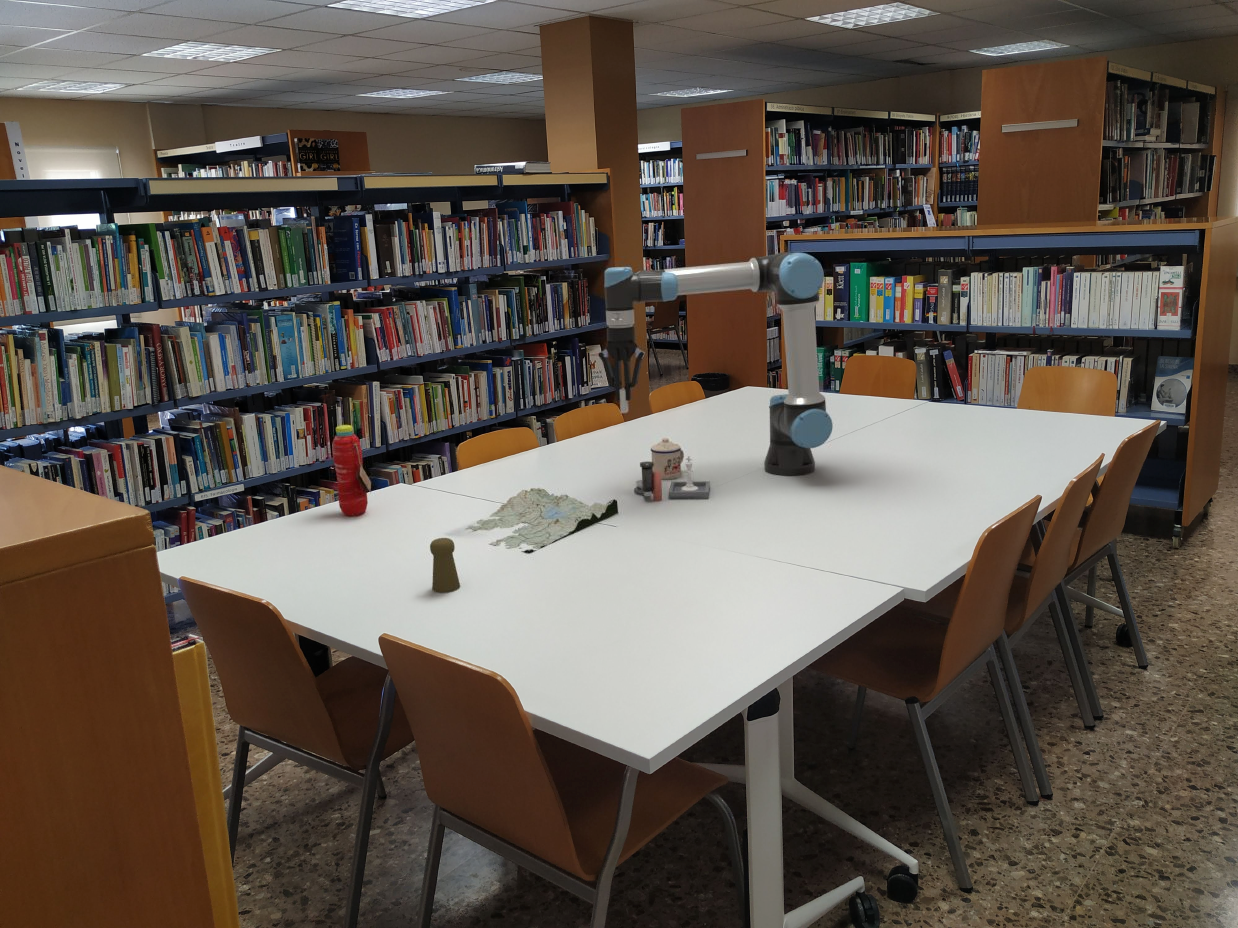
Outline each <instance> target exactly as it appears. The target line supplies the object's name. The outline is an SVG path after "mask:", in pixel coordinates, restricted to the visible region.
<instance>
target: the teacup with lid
mask: <svg viewBox="0 0 1238 928" xmlns="http://www.w3.org/2000/svg"><path fill="white" fill-rule="evenodd" d="M650 452H651V462H654V466H653V471H661V480H665V481H666V480H667V481H668V480H674V479H677V478H680V477H681V476H682V475H681V474H682V466H681V464H682V463H683V461H684V457H685V454H684V450H682V448H681V446H680V445H679V444H677V443H674V442H672V441H671V440H669V438H667V437H664V438H662V439H661V441H659V442H658V443H657V444H653V445H651V447H650Z"/></svg>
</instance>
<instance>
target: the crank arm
mask: <svg viewBox="0 0 1238 928" xmlns="http://www.w3.org/2000/svg"><path fill="white" fill-rule="evenodd" d="M653 466H654V462H652V461H647V460H646V461H641V462H639V467H640V468H641V479H640V480H636V486H635V487H637V489H642V491H643V494H644V495H643V496H644V497H653V494H652V491H653Z"/></svg>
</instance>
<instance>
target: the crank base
mask: <svg viewBox="0 0 1238 928" xmlns="http://www.w3.org/2000/svg"><path fill="white" fill-rule="evenodd" d="M633 493H634V494H635V495H639V496H644V494H643V491H642V489H637V487H636V486H635V487H634V488H633ZM652 495H653V491H652Z"/></svg>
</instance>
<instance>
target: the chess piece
mask: <svg viewBox="0 0 1238 928" xmlns="http://www.w3.org/2000/svg"><path fill="white" fill-rule="evenodd" d="M685 460H686V461H687V462H685V466H686V467H685V468H686V470H685V473H687V478H686V481H687V484H686V486H684V487H682V488H681V491H699V490H698V487H696V486H694V485H693V483H692V481H693V479H692V473H694V471H693V469H692V468H693V462H692V460H693V458H691V456H690V455H688V456H687V457H686V458H685Z"/></svg>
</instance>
